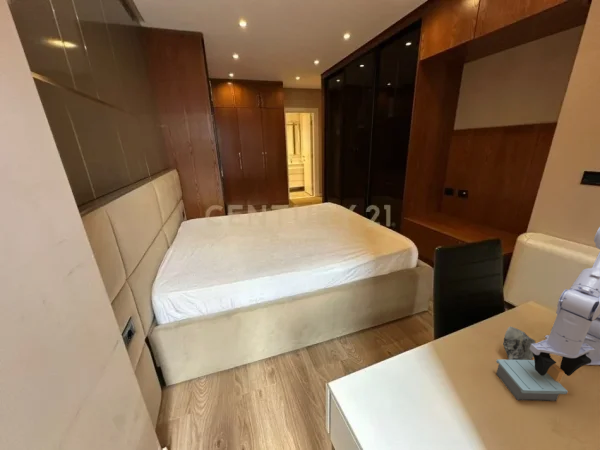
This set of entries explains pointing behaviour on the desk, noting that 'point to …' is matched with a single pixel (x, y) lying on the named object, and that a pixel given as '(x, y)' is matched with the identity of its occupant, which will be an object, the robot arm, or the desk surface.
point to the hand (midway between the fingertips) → (551, 372)
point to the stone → (517, 344)
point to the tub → (517, 391)
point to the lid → (533, 377)
